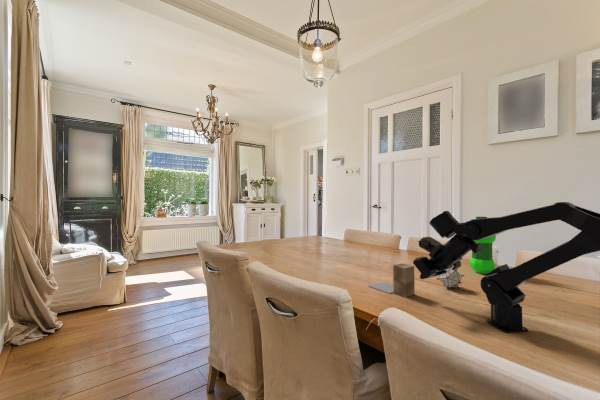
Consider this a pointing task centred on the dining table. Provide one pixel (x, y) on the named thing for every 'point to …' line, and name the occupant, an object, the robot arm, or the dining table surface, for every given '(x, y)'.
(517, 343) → the dining table surface
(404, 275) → the grey rectangular block
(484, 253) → the plastic bottle
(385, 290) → the felt mat
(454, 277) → the grey spiky ball
